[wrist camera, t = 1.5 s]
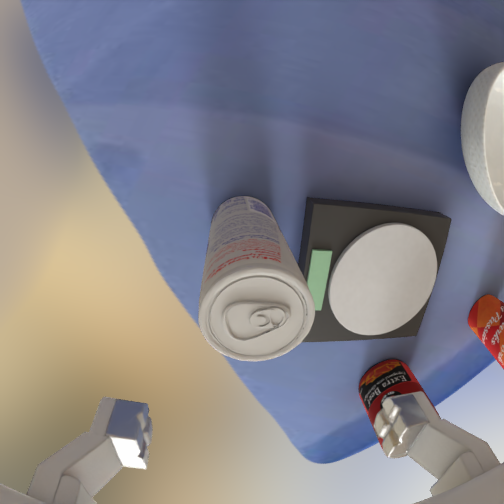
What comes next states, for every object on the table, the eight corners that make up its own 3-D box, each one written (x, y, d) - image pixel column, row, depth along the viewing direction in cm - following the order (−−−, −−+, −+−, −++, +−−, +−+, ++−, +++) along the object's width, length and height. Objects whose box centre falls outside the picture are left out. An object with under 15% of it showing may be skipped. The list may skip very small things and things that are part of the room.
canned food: (396, 347, 36) (436, 408, 25) (414, 376, 38) (448, 431, 28) (346, 381, 37) (374, 448, 27) (370, 406, 40) (396, 464, 30)
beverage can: (198, 227, 28) (172, 323, 14) (242, 181, 27) (257, 240, 13) (243, 266, 30) (256, 381, 16) (286, 224, 29) (338, 315, 15)
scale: (306, 197, 28) (315, 205, 25) (438, 212, 29) (455, 220, 27) (288, 328, 33) (293, 346, 30) (407, 324, 34) (418, 338, 32)
